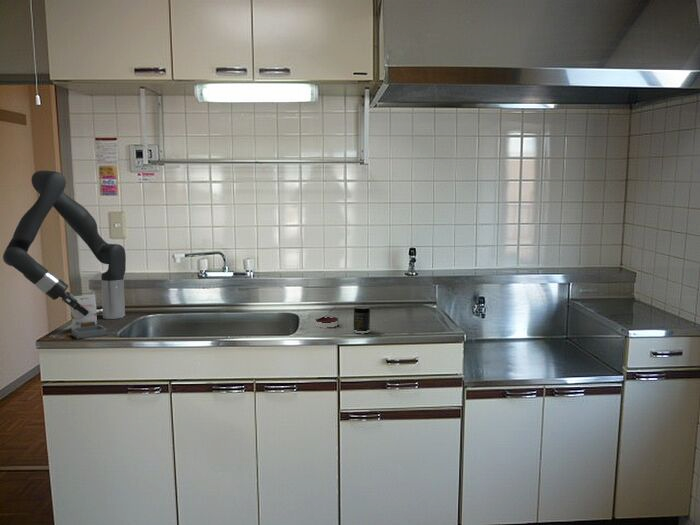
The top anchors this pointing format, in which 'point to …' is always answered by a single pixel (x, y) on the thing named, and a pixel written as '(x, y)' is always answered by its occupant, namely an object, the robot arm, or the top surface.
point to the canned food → (326, 320)
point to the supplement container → (361, 318)
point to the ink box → (88, 305)
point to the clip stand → (87, 324)
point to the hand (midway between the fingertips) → (86, 312)
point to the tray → (89, 331)
